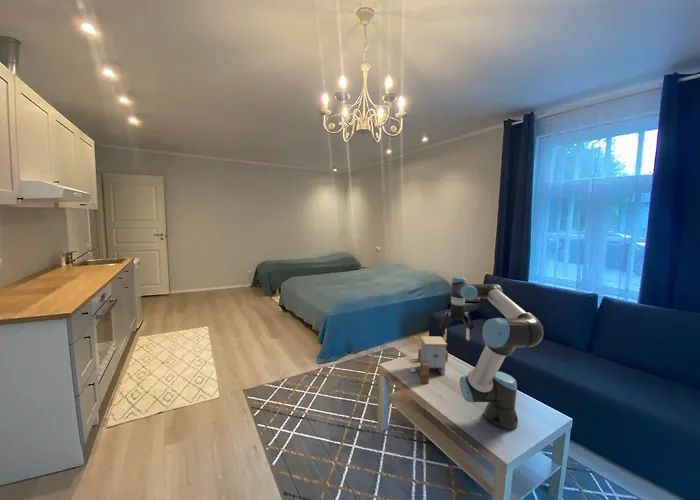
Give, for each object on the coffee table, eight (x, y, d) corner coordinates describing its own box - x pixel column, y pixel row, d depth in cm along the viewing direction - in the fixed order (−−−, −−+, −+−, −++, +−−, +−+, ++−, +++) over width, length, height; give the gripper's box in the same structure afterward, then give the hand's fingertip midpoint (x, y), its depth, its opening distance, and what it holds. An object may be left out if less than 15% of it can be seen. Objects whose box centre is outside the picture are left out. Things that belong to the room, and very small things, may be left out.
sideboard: (445, 376, 188) (447, 344, 186) (424, 376, 188) (425, 344, 186) (439, 366, 201) (441, 336, 198) (419, 365, 201) (420, 336, 198)
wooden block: (428, 383, 179) (429, 364, 178) (421, 383, 179) (422, 364, 178) (422, 369, 196) (422, 352, 195) (416, 369, 196) (416, 352, 195)
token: (417, 373, 191) (418, 370, 191) (410, 373, 192) (410, 370, 191) (416, 369, 196) (416, 367, 196) (409, 369, 197) (409, 366, 196)
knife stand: (447, 361, 207) (448, 352, 207) (419, 361, 207) (419, 351, 206) (445, 358, 211) (446, 349, 210) (417, 358, 211) (418, 349, 210)
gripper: (475, 302, 174) (474, 337, 176) (434, 302, 173) (433, 337, 174) (482, 305, 167) (480, 342, 169) (438, 305, 165) (437, 342, 167)
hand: (456, 339), depth 172 cm, fingers open, 13 cm apart
